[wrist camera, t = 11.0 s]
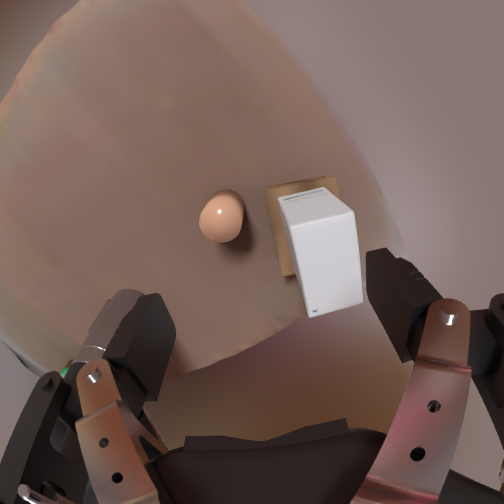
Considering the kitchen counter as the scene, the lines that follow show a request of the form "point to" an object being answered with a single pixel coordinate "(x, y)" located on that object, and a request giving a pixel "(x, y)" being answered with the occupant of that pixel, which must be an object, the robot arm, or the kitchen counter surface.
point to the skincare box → (323, 250)
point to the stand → (275, 215)
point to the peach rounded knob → (222, 216)
